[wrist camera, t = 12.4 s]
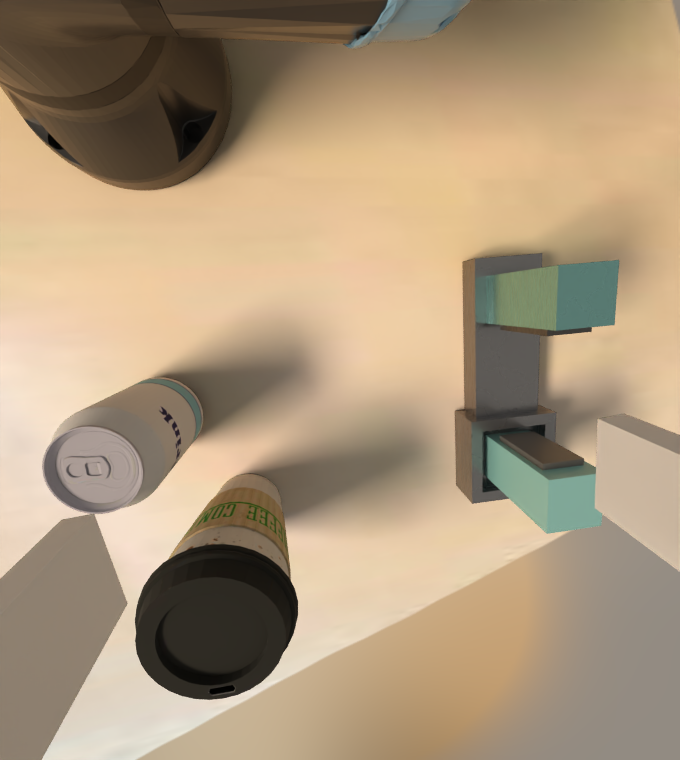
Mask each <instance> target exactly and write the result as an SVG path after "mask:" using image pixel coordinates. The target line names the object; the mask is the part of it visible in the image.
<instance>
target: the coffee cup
mask: <svg viewBox="0 0 680 760" xmlns="http://www.w3.org/2000/svg"><path fill="white" fill-rule="evenodd" d="M297 616H298V600H297V596H296V592H295V588H294V586H293V585H292V583H291V579H290V563H289V555H288V546H287V538H286V530H285V521H284V516H283V512H282V506H281V498H280V494H279V492H278V490H277V488H276V487H275V485H274V484H273V483H272V482H271V481H269V480H268V479H266V478H264V477H262V476H259V475H255V474H243V475H239V476H236V477H234V478H232V479H230V480H229V481H227V482H226V483H225V484H224V485H223V486H222V488H221V489H220V491H219V492H218V493H217V495H216V496H215V497H214V498H213V499H212V500H211V501H210V502H209V503H208V504H207V506H206V507H205V508H204V510H203V511H202V513H201V514H200V515H199V517H198V518H197V519H196V521H195V522H194V523H193V525H192V526H191V528H190V529H189V530H188V532H187V533H186V534H185V536H184V537H183V538H182V540H181V541H180V543H179V544H178V545H177V547H176V548H175V549H174V551H173V553H172V554H171V556H170V557H169V559H168V560H167V561H166V562H164V563H163V564H162V565H161V566H160V567H159V568H157V569H156V570H155V571H154V572H153V573H152V575H151V576H150V578H149V579H148V581H147V582H146V584H145V585H144V587H143V590H142V592H141V595H140V598H139V600H138V604H137V609H136V617H135V626H136V640H135V642H136V650H137V655H138V657H139V660H140V662H141V665H142V666H143V668H144V669H145V671H146V672H147V674H148V675H149V676H150V677H151V678H152V679H153V680H154V681H155V682H156V683H158V684H159V685H161V686H162V687H164V688H165V689H167V690H169V691H171V692H173V693H176V694H178V695H181V696H185V697H189V698H194V699H207V700H211V699H222V698H227V697H231V696H235V695H238V694H240V693H243V692H245V691H247V690H250V689H251V688H253V687H255V686H256V685H258V684H259V683H261V682H262V681H263V680H264V679H265V678H266V677H267V676H269V675H270V674H271V672H272V671H273V670H274V668H275V667H276V666H277V664H278V663H279V661H280V658H281V656H282V654H283V652H284V651H285V649H286V648H287V647H288V644H289V642H290V640H291V638H292V636H293V634H294V630H295V626H296V621H297Z"/></svg>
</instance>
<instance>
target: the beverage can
mask: <svg viewBox="0 0 680 760" xmlns="http://www.w3.org/2000/svg"><path fill="white" fill-rule="evenodd" d="M202 425H203V410H202V406H201V404H200V401H199V399H198V398H197V396H196V395H195V394H194V392H193V391H192V390H191V389H190V388H188V387H187V386H186V385H184V384H182V383H181V382H179V381H176V380H173V379H170V378H163V377H157V378H150V379H146V380H144V381H141V382H139V383H137V384H135V385H133V386H131V387H129V388H127V389H125V390H123V391H120V392H118V393H116V394H114V395H112V396H110V397H108V398H106V399H104V400H102V401H100V402H98V403H95V404H93V405H91V406H89V407H87V408H85V409H83V410H81V411H79V412H77V413H75V414H73V415H72V416H70V417H69V418H67V419H66V420H65V421H64V422H63V423H62V424H61V425H60V426H59V428H58V429H57V431H56V432H55V434H54V436H53V438H52V441H51V444H50V445H49V446H48V448H47V450H46V452H45V455H44V458H43V465H42V469H43V476H44V479H45V482H46V484H47V486H48V488H49V490H50V491H51V492H52V494H53V495H54V496H55V497H56V498H57V499H58V500H59V501H61V502H62V503H63V504H65V505H66V506H68V507H70V508H72V509H74V510H77V511H80V512H84V513H90V514H103V513H109V512H113V511H116V510H118V509H120V508H124V507H128V506H131V505H134V504H137V503H139V502H141V501H142V500H144V499H145V498H147V497H148V496H149V495H151V494H152V493H153V492H154V491H155V490H156V488H157V487H158V486H159V485H160V483H161V482H162V481H163V480H164V478H165V477H166V476H167V475H168V473H169V472H170V471H171V469H172V468H173V467H174V466H175V464H176V463H177V462H178V461H179V459H180V458H181V457H182V456H183V454H184V453H185V452H186V450H187V449H188V448H189V447H190V445H191V444H192V443H193V442H194V440H195V439H196V438H197V436H198V435H199V433H200V431H201V428H202Z"/></svg>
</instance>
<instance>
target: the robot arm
mask: <svg viewBox="0 0 680 760" xmlns="http://www.w3.org/2000/svg"><path fill="white" fill-rule="evenodd" d="M470 1H471V0H0V86H1V88H2V89H3V91H4V92H5V93H6V95H7V96H8V98H9V99H10V100H11V102H12V103H13V105H14V106H15V107H16V109H17V110H18V111H19V113H20V114H21V116H22V117H23V118H24V120H25V121H26V122H27V124H28V125H29V126H30V128H31V129H32V130H33V131H34V132H35V134H36V135H37V136H38V137H39V138H40V139H41V140H42V141H43V142H44V143H45V144H46V145H47V146H48V147H49V148H51V149H52V150H53V151H54V152H55V153H56V154H58V155H59V156H60V157H61V158H63V159H64V160H66V161H67V162H68V163H70V164H72V165H73V166H75V167H77V168H78V169H80V170H82V171H83V172H85V173H86V174H88V175H90V176H92V177H94V178H96V179H98V180H100V181H102V182H104V183H107V184H110V185H113V186H116V187H120V188H125V189H132V190H155V189H161V188H165V187H169V186H172V185H175V184H178V183H180V182H182V181H184V180H186V179H187V178H189V177H191V176H192V175H194V174H195V173H196V172H198V171H199V170H200V169H201V168H202V167H203V166H204V165H205V164H206V163H207V162H208V161H209V160H210V159H211V157H212V156H213V155H214V153H215V152H216V150H217V148H218V147H219V145H220V143H221V141H222V139H223V137H224V134H225V132H226V129H227V125H228V122H229V117H230V112H231V103H232V86H231V77H230V70H229V66H228V61H227V58H226V55H225V51H224V48H223V45H222V42H221V39H252V40H274V41H296V42H317V43H339V44H343V45H345V46H347V47H348V48H353V49H356V48H361V47H363V46H365V45H368V44H369V43H370V42H392V41H417V40H422V39H426V38H429V37H431V36H433V35H435V34H437V33H439V32H440V31H441V30H443V29H444V28H445V27H446V26H447V25H448V24H449V23H450V22H451V21H452V20H454V19H455V18H456V16H457V15H458V14H459V12H460V11H461V10H462V9H463V8H464V7H466V6H467V5H468V4H469V2H470ZM595 509H597V510H598V511H599V512H601V513H602V514H603V515H605V516H606V517H607V518H609V519H610V520H611V521H613V522H614V523H616V524H617V525H618V526H620V527H621V528H622V529H623V530H625V531H626V532H628V533H629V534H630V535H631V536H633V537H634V538H635V539H637V540H638V541H639V542H641V543H642V544H644V545H645V546H646V547H647V548H649V549H650V550H651V551H653V552H654V553H656V554H657V555H658V556H659V557H661V558H662V559H663V560H665V561H666V562H668V563H669V564H670V565H671V566H673V567H674V568H676V569H677V570H678V571H680V435H678V434H676V433H673V432H670V431H668V430H665V429H663V428H660V427H658V426H655V425H652V424H650V423H647V422H645V421H642V420H639V419H637V418H634V417H632V416H629V415H626V414H620V415H615V416H610V417H604V418H599V419H598V421H597V452H596V483H595ZM127 604H128V603H127V601H126V598H125V595H124V593H123V590H122V587H121V585H120V582H119V579H118V577H117V574H116V571H115V569H114V566H113V563H112V561H111V558H110V555H109V553H108V550H107V547H106V545H105V542H104V539H103V536H102V534H101V531H100V528H99V526H98V523H97V520H96V518H95V515H94V514H90V515H84V516H79V517H74V518H68V519H63V520H61V521H60V522H59V523H58V524H57V525H56V526H55V527H54V528H53V529H52V530H51V531H50V532H49V533H48V534H46V535H45V536H44V537H43V538H42V539H41V540H40V541H39V542H38V543H37V544H36V545H35V546H34V547H33V548H32V549H31V550H30V551H29V552H28V553H27V554H26V555H25V556H24V557H23V558H22V559H21V560H20V561H18V562H17V563H16V564H15V565H14V566H13V567H12V568H11V569H10V570H9V571H8V572H7V573H6V574H5V575H4V576H3V577H2V578H1V579H0V760H42V758H43V756H44V754H45V752H46V751H47V749H48V747H49V745H50V743H51V742H52V740H53V738H54V736H55V734H56V732H57V731H58V729H59V727H60V725H61V723H62V722H63V720H64V718H65V716H66V714H67V713H68V711H69V709H70V707H71V705H72V703H73V702H74V700H75V698H76V696H77V694H78V693H79V691H80V689H81V687H82V685H83V683H84V682H85V680H86V678H87V676H88V674H89V673H90V671H91V669H92V667H93V665H94V664H95V662H96V660H97V658H98V656H99V654H100V653H101V651H102V649H103V647H104V645H105V644H106V642H107V640H108V638H109V636H110V635H111V633H112V631H113V629H114V627H115V625H116V624H117V622H118V620H119V618H120V616H121V615H122V613H123V611H124V609H125V607H126V606H127Z"/></svg>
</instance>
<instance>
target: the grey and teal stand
mask: <svg viewBox="0 0 680 760" xmlns="http://www.w3.org/2000/svg"><path fill="white" fill-rule="evenodd" d="M618 269H619V260H614V261H603V262H591V263H579V264H567V265H557V266H550V267H543V268H542V253H540V254H527V255H515V256H503V257H490V258H478V259H472V260H468V261H464V262H463V325H464V396H465V410H458V411H455V441H456V485H457V486H458V488H459V489H460V490H461V491H462V492H463V493H464V495H465V496H466V497H467V498H468V499H469V500H470V502H471V503H472V504H473V503H480V502H488V501H495V500H502V499H509V498H508V497H507V496H506V495H505V494H504V493H503V492H502V491H501V490H500V489H499V488H498V487H497V486H495V485H494V484H493V483H492V482H491V481H490V480H489V479H488V478H487V477H486V435H490V434H498V433H506V432H515V431H523V430H529V431H534V432H536V433H538V434H540V435H542V436H543V437H545V438H547V439H549V440H551V441H553V442H554V443H555V432H556V412H554V411H552V410H550V409H547V408H545V407H543V406H540V405H538V378H539V345H540V335H543V336H553V335H563V334H572V333H582V332H591V329H592V327H598V326H608V325H614V324H615V310H616V296H617V282H618Z"/></svg>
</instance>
